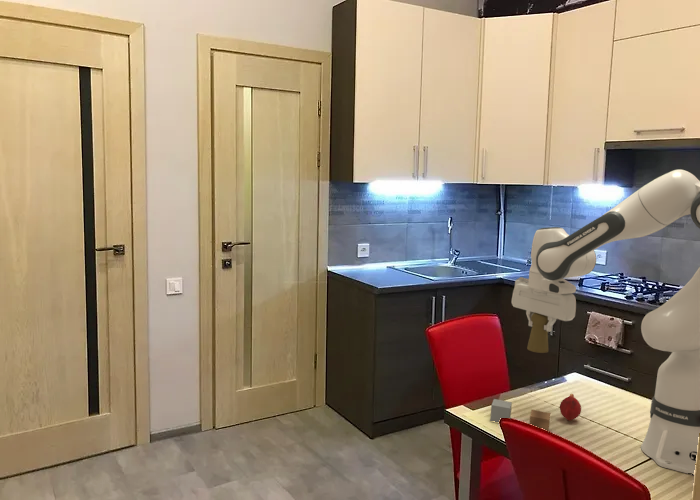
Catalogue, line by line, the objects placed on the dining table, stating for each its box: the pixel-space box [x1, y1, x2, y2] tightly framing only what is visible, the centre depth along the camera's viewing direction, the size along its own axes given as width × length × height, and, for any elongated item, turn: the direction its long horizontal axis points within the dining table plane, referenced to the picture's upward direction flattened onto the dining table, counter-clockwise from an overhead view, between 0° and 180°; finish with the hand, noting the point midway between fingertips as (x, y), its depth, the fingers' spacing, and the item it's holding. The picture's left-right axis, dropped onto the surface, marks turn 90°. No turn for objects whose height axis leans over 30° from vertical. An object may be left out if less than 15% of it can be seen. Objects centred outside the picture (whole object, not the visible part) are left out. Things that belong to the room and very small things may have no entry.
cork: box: [526, 313, 549, 354], centre depth 174 cm, size 6×6×11 cm
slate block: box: [489, 398, 513, 422], centre depth 169 cm, size 5×5×5 cm
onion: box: [559, 393, 582, 422], centre depth 171 cm, size 6×6×8 cm
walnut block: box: [529, 409, 551, 431], centre depth 162 cm, size 5×5×5 cm
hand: (539, 328), depth 174 cm, fingers closed on cork, 4 cm apart
